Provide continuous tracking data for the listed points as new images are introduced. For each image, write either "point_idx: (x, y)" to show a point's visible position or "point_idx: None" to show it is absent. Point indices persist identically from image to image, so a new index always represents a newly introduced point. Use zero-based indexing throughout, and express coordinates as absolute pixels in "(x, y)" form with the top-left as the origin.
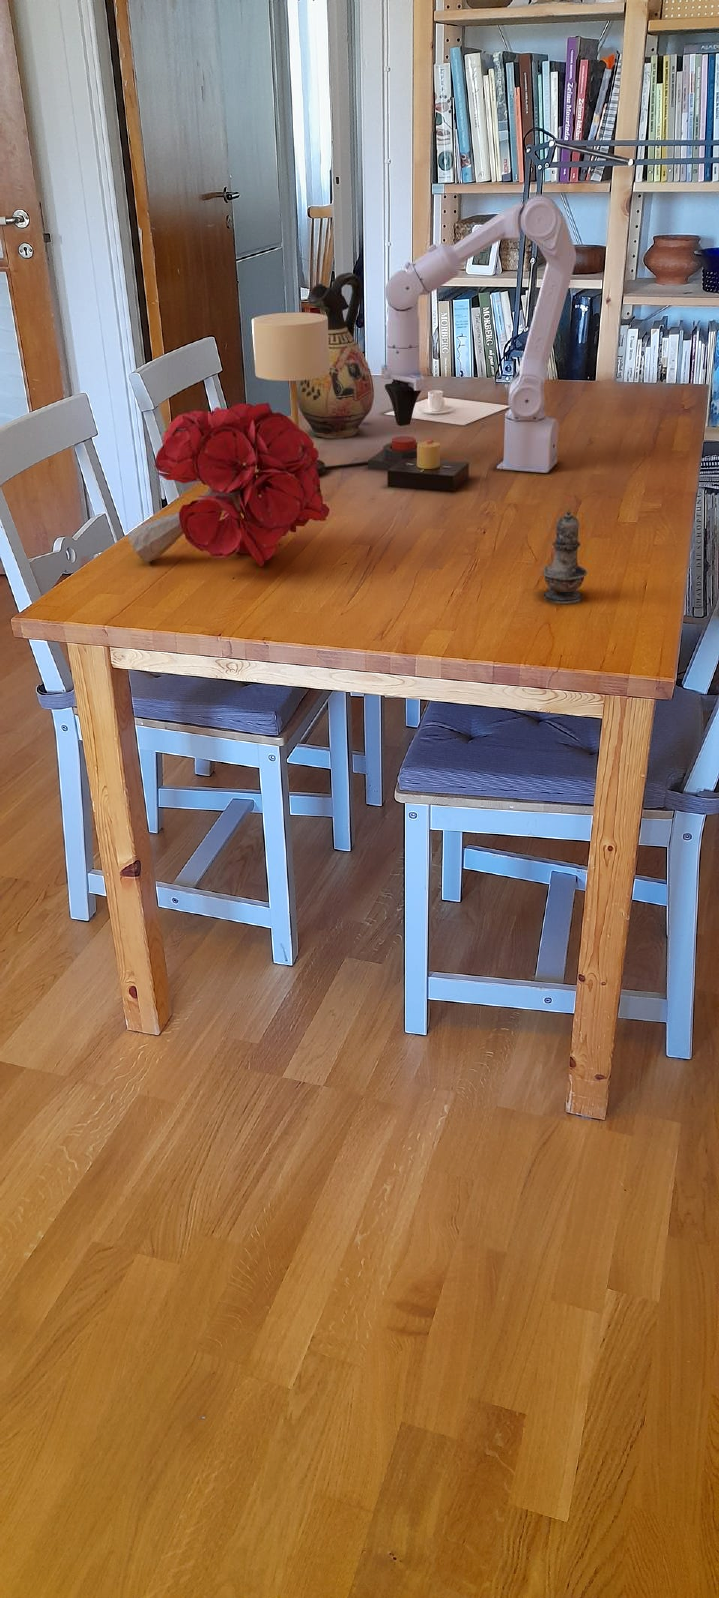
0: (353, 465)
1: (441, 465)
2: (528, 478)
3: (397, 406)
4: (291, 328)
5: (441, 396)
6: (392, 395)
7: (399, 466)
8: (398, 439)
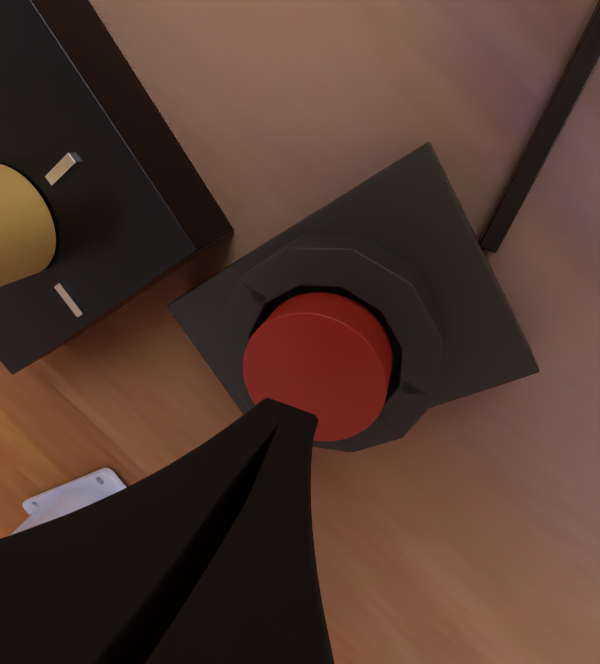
0: (550, 99)
1: None
2: (11, 448)
3: (166, 478)
4: None
5: None
6: (183, 605)
7: (55, 95)
8: (325, 357)
